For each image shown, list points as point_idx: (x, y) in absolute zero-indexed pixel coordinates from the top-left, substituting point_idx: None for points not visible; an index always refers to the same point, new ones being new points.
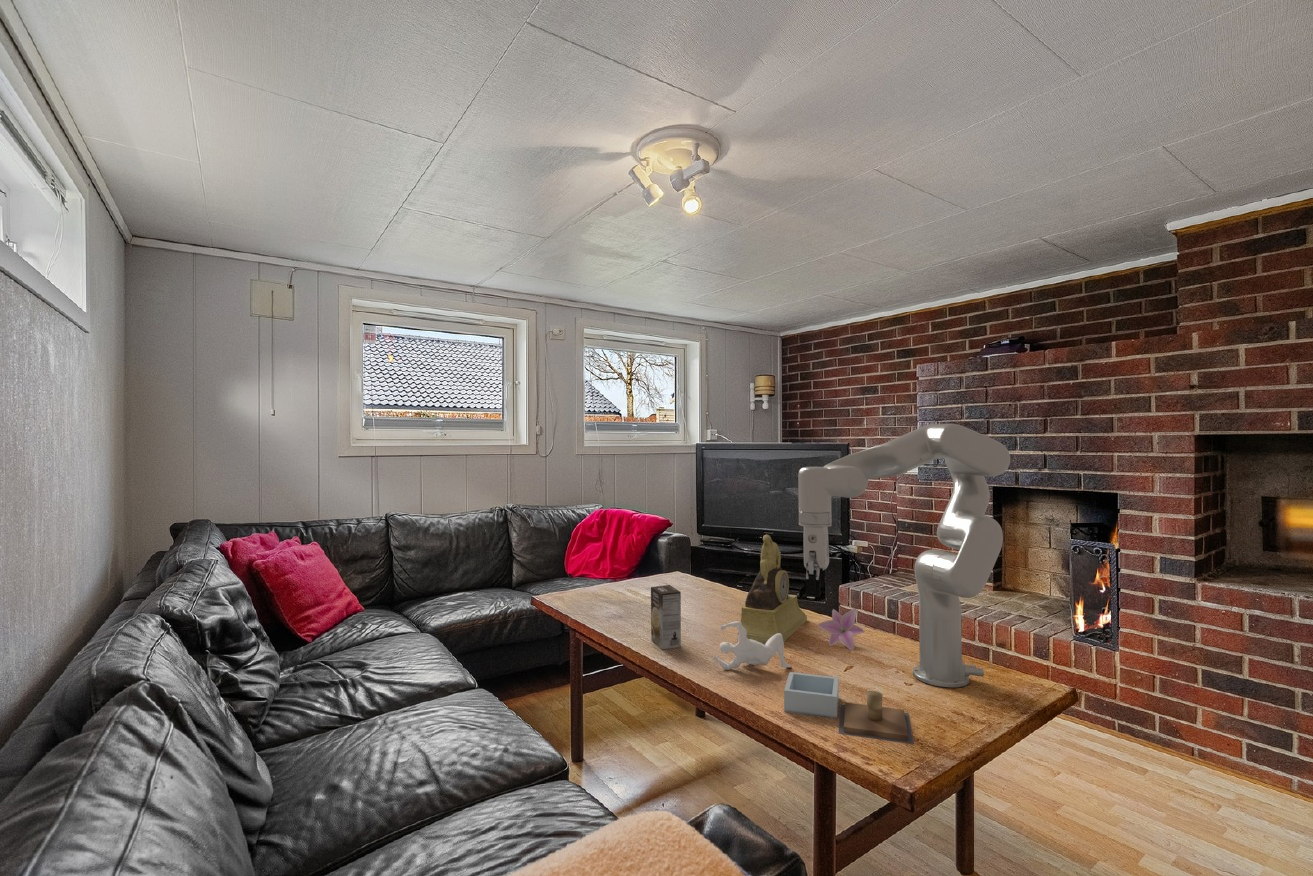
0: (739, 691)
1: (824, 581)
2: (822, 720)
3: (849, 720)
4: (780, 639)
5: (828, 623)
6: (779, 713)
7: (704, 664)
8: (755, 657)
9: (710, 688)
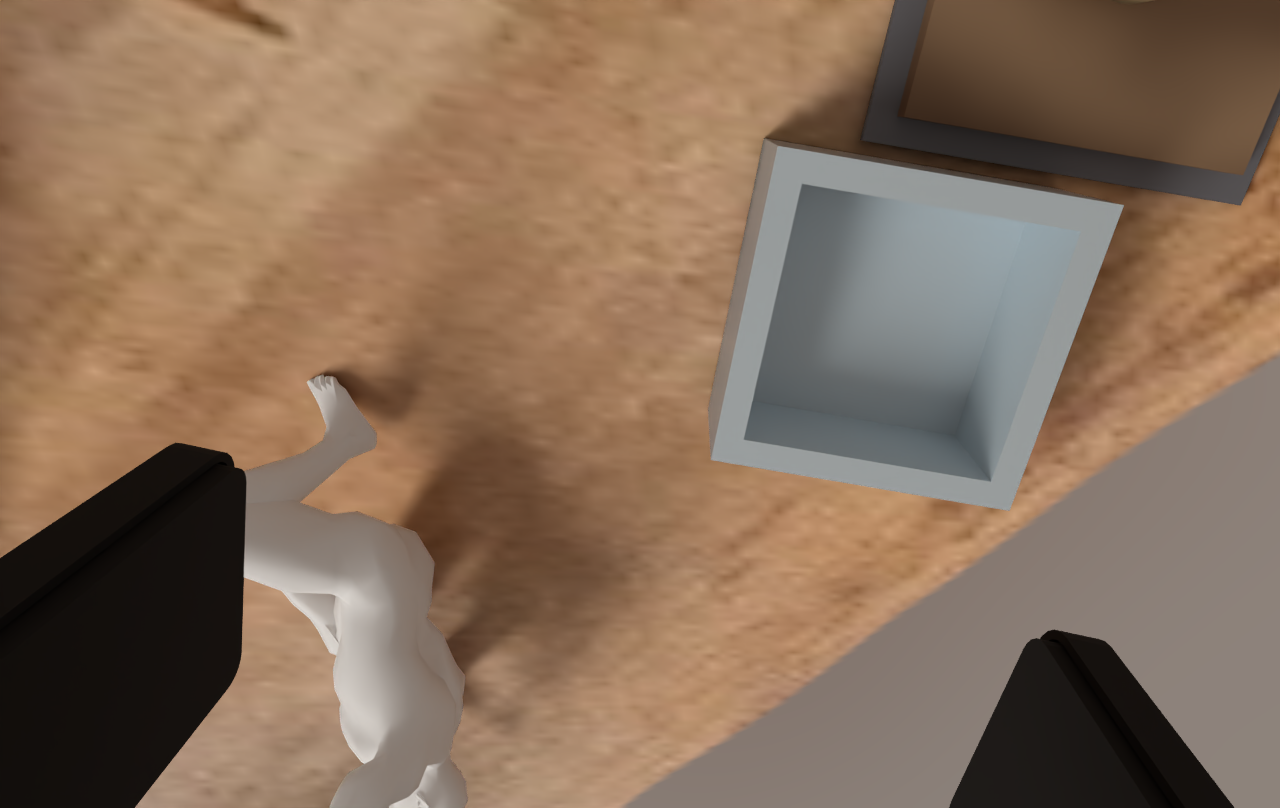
0: (712, 639)
1: (152, 512)
2: None
3: (1165, 128)
4: None
5: None
6: None
7: None
8: (426, 615)
9: (693, 752)
